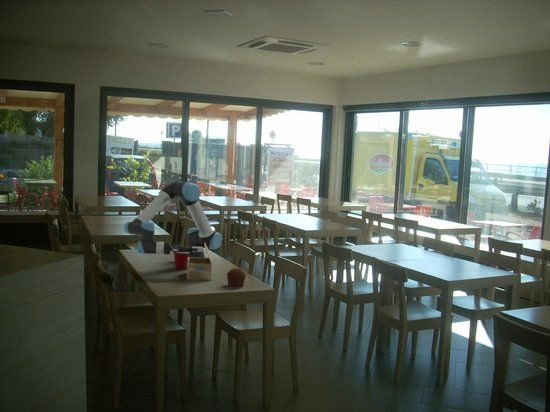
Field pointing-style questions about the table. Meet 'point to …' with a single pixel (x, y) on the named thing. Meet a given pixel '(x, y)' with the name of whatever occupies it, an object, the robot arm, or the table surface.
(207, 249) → the flap
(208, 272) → the light wood open box
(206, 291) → the table surface
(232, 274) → the muffin
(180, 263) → the plastic cup
